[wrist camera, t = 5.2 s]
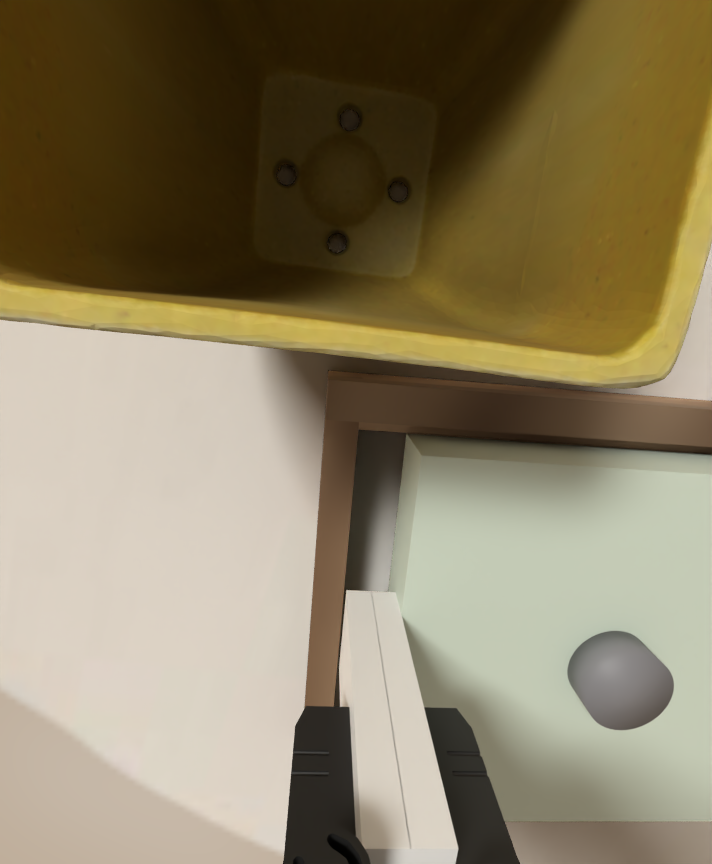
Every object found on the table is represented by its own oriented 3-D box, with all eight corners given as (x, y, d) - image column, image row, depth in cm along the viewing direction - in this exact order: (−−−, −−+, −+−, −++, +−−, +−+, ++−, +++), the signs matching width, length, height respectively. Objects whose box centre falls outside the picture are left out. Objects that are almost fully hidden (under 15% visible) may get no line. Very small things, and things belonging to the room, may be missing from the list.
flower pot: (192, -34, 11) (-278, -1245, 3) (517, 28, 12) (1014, -743, 3) (183, 317, 13) (-91, 311, 5) (461, 351, 14) (674, 398, 5)
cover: (793, 460, 14) (926, 500, 11) (692, 758, 17) (774, 856, 14) (406, 433, 13) (430, 468, 10) (369, 754, 16) (378, 859, 13)
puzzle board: (1015, 425, 16) (1127, 442, 14) (866, 752, 19) (934, 807, 17) (328, 370, 14) (328, 379, 12) (301, 744, 18) (297, 806, 15)
